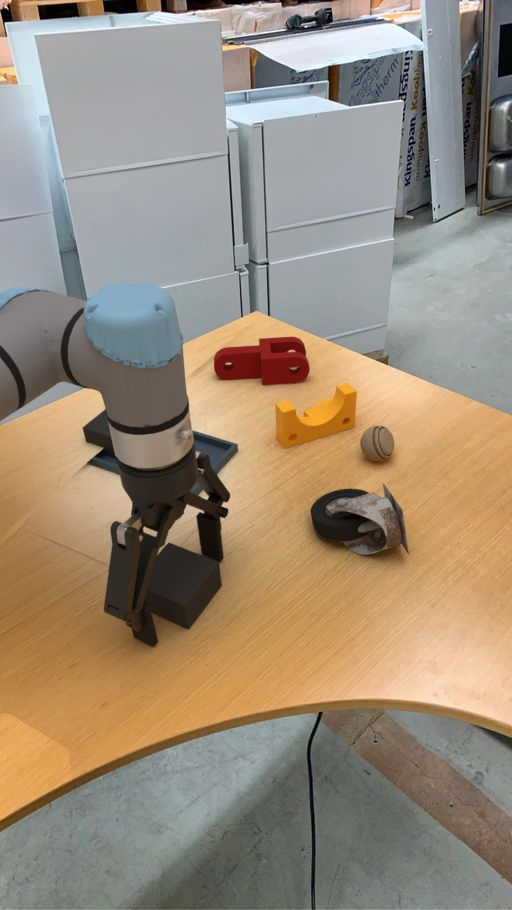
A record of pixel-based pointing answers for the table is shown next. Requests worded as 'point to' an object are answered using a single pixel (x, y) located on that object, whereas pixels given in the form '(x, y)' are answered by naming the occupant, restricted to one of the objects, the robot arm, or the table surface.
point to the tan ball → (377, 443)
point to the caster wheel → (360, 520)
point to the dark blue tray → (203, 443)
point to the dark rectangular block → (182, 585)
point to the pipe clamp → (316, 418)
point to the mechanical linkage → (264, 361)
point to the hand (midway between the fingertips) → (181, 595)
